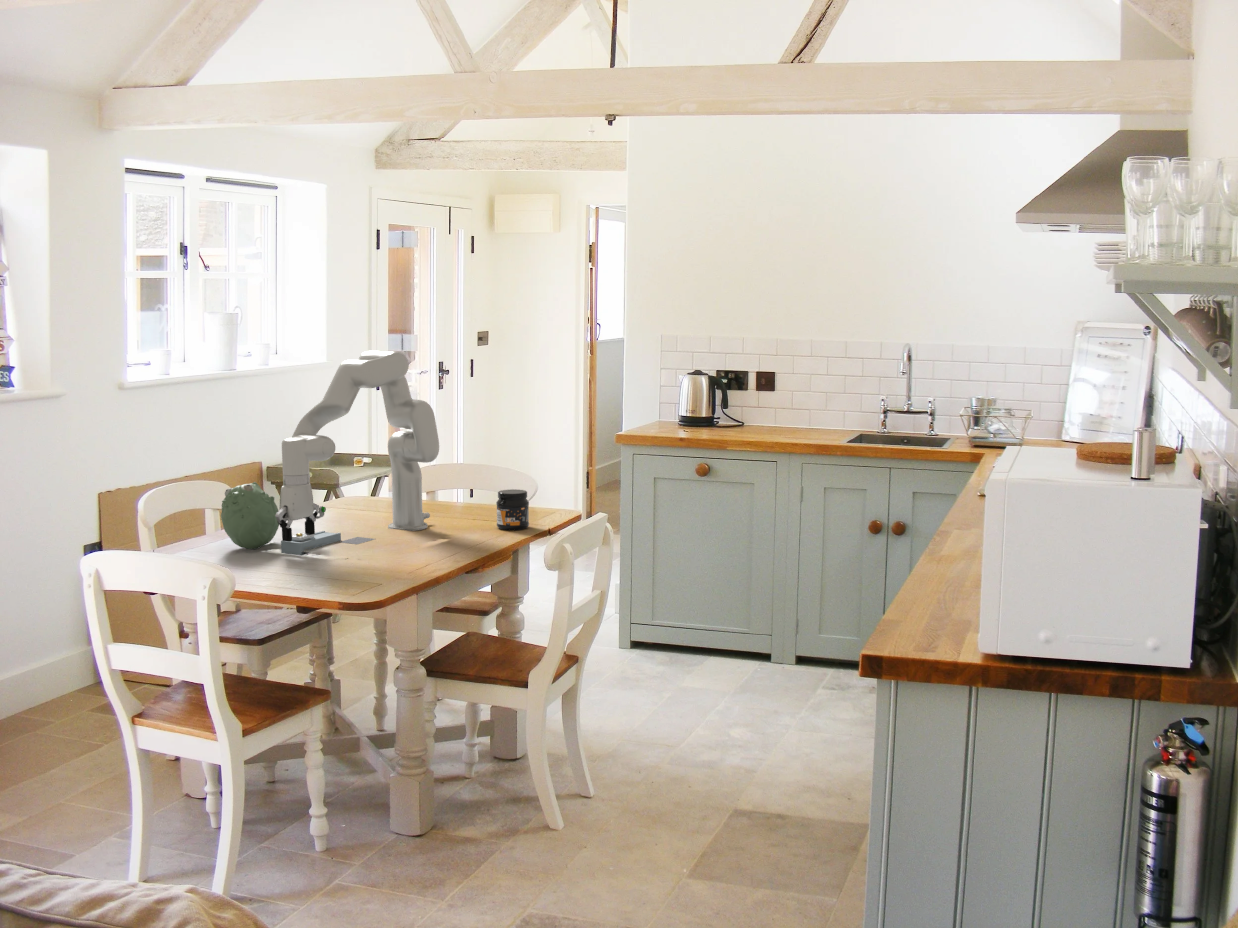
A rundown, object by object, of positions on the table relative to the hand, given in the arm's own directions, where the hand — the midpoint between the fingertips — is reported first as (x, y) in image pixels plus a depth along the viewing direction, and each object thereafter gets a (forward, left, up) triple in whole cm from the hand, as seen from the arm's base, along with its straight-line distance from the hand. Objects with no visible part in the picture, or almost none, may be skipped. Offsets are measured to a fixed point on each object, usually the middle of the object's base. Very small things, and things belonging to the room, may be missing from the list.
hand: (298, 537), depth 350 cm
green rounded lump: (+2, -16, -4) cm, 17 cm away
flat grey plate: (-17, +8, -4) cm, 19 cm away
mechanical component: (-19, -12, -4) cm, 23 cm away
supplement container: (-61, +36, -4) cm, 71 cm away
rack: (-6, 0, -4) cm, 7 cm away
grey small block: (-1, 0, -2) cm, 3 cm away
